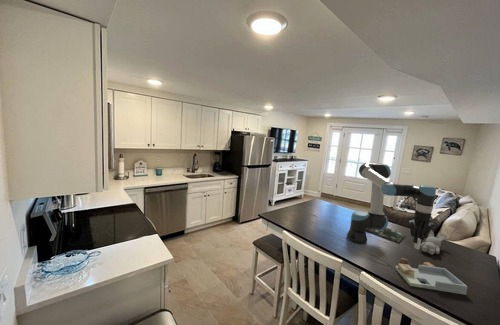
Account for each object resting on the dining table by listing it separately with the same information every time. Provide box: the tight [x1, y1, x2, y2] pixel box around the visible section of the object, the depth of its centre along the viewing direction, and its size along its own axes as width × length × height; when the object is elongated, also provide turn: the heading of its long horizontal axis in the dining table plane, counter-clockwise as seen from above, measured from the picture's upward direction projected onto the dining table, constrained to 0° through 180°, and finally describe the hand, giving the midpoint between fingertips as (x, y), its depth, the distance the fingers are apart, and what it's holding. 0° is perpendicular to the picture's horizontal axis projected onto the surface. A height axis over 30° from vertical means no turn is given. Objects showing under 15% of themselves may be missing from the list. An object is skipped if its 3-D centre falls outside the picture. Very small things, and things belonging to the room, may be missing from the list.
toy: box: [420, 229, 447, 256], centre depth 160 cm, size 12×10×30 cm
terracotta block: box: [422, 261, 436, 267], centre depth 132 cm, size 4×4×4 cm
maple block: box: [397, 262, 415, 275], centre depth 126 cm, size 6×6×3 cm
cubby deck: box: [394, 264, 469, 296], centre depth 121 cm, size 28×16×5 cm, turn 81°
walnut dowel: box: [399, 257, 409, 265], centre depth 134 cm, size 4×4×5 cm
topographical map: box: [366, 227, 407, 244], centre depth 187 cm, size 26×33×3 cm
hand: (416, 248), depth 123 cm, fingers closed
